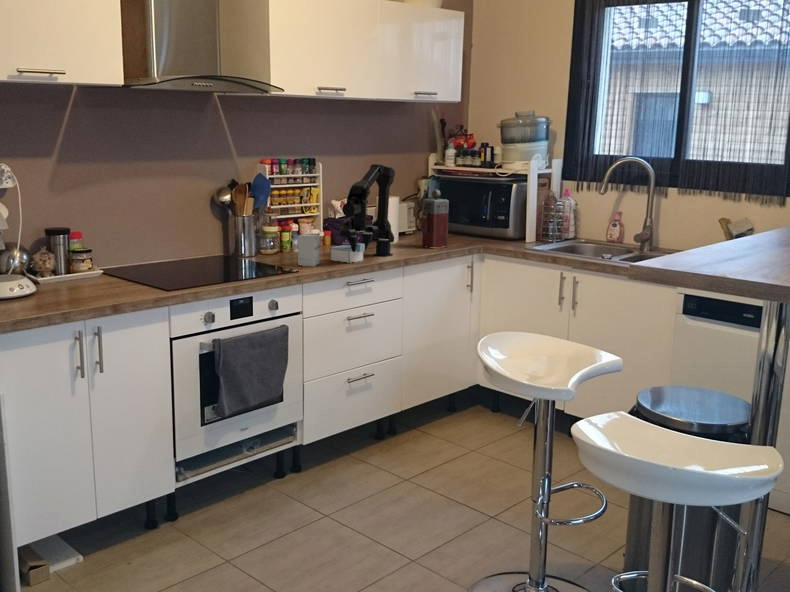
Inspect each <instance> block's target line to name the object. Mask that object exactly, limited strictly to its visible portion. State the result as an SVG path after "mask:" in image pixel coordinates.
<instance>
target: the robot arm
mask: <svg viewBox="0 0 790 592" xmlns="http://www.w3.org/2000/svg"><path fill="white" fill-rule="evenodd" d="M395 175H396V171H395V170H394V169H393V168H392V167H390V166H385V165H383V164H378V163H377V164H374V163H373V164H370V167H369V169H368V170H367V171H366V173H365V174H364V176H363V177H362V179H360V180H359V181H355V183H353V184H352V186H351V187H350V189H349V192H348V195H347V197H346V203H345V204H343V206H342V209H341V211H342V214H343V215H344V216H346V217H349V219H350V220H346V219H341V220H340V222H339V226H340V228H341V229H340V230H339V236H340V237H341V236H342V237H344V238H346V239H347V240H348V242H349V243H348V244H350V245H351V248H352V251H353V252H355V250H356V246H357V243H358V239H359V236H357V234H360V235H361V237H362V243H363V244H365V251H367V249H368V247H369V245H370V243H371V240H372V242H376V244H375V253H373V256H379V257H389V256H393V255H394V254H393V253H391V243H392V244H393V243H394V242H395V236H394V233H393V231H392V225H391V223H390V220H389V205H390V204H389V202H390V187H391V185H392V184H393V183H394V180H395V179H394V178H395ZM375 182H376V184H377V186H378V194H377V197H378V198H377V211H376V213H377V215H376V219H375V221H374V222H373V223H372V225H370V224H369V225H367V220H369V217H368V216H367V204H369V201H368V200H367V199H368V197H369V196H370V193H371V187H372V186H373V185H374V183H375ZM388 255H389V256H388Z"/></svg>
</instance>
